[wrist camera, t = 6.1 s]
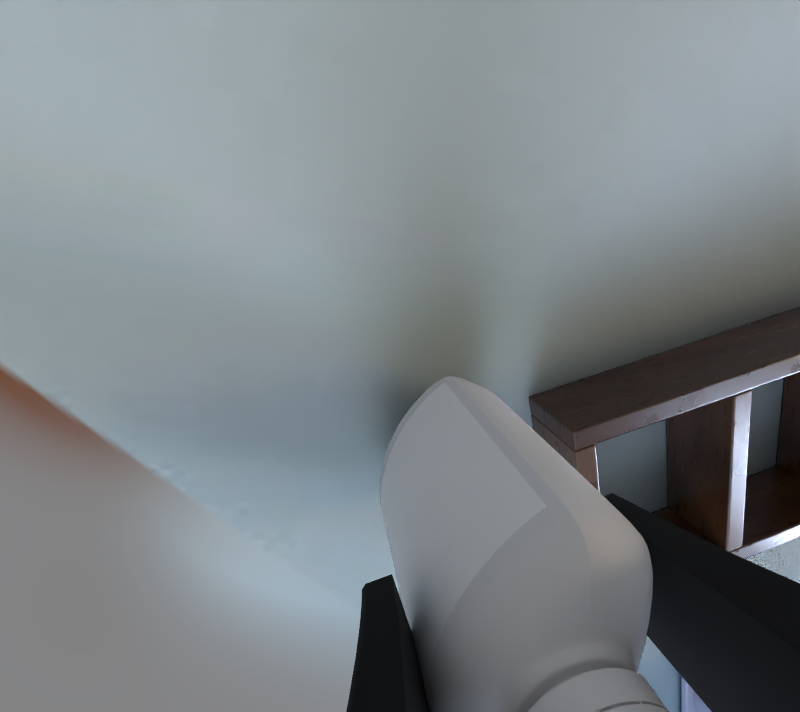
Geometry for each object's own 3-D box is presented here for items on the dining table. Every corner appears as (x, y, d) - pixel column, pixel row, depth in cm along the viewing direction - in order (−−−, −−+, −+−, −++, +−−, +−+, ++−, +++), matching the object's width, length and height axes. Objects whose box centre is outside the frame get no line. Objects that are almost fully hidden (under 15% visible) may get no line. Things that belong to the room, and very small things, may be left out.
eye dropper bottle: (334, 451, 14) (406, 1456, 2) (465, 354, 14) (1173, 948, 2) (405, 526, 15) (649, 1355, 4) (524, 439, 15) (1121, 1047, 4)
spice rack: (887, 435, 21) (974, 467, 18) (553, 563, 19) (594, 620, 16) (921, 265, 18) (1034, 272, 15) (527, 396, 16) (573, 432, 13)
